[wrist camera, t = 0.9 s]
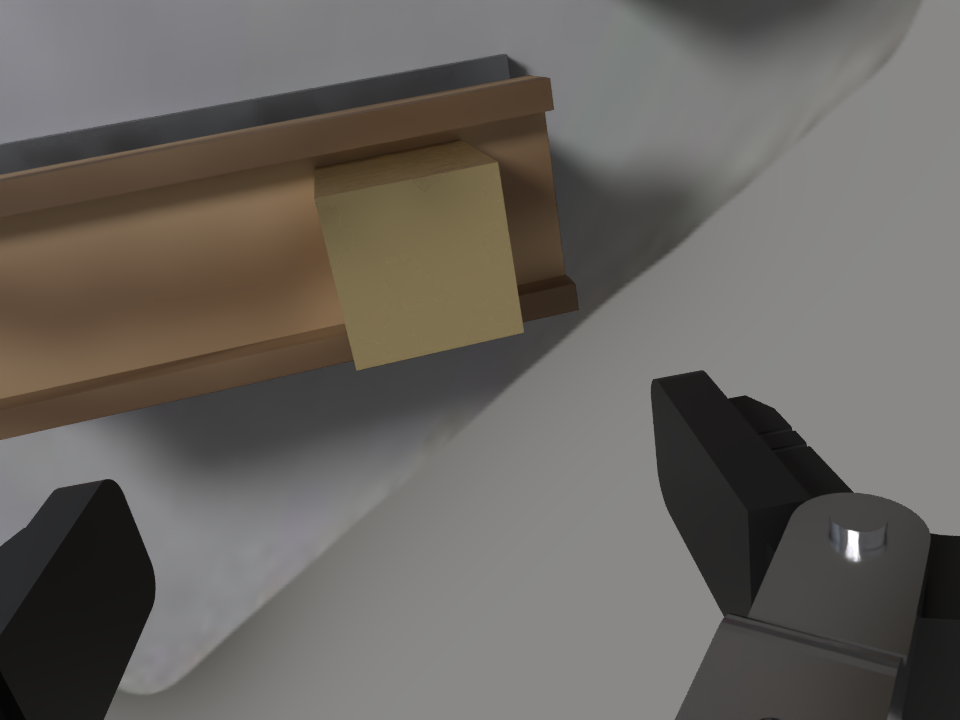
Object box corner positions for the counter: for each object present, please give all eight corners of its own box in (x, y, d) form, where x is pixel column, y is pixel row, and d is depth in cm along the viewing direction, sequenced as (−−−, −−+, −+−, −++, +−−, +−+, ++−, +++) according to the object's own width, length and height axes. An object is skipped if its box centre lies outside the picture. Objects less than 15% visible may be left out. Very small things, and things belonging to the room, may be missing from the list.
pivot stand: (-164, 173, 36) (-351, 219, 27) (503, 53, 36) (534, 61, 27) (-76, 358, 39) (-217, 453, 30) (531, 247, 39) (566, 309, 31)
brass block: (313, 167, 27) (314, 198, 21) (460, 139, 27) (498, 161, 22) (347, 308, 29) (356, 370, 23) (484, 279, 29) (524, 332, 24)
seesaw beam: (-401, 250, 25) (-482, 273, 22) (528, 75, 28) (549, 77, 26) (-267, 470, 28) (-325, 513, 26) (556, 288, 32) (578, 309, 29)
